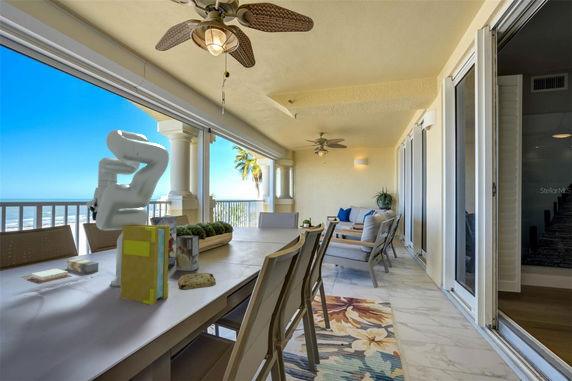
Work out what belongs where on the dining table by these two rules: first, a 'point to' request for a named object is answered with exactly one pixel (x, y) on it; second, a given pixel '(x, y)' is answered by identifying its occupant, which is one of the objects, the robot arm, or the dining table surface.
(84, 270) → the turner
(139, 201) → the robot arm
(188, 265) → the coffee box
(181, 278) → the pastry
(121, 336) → the dining table surface
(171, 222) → the juice carton
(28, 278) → the board
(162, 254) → the book
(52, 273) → the tile
